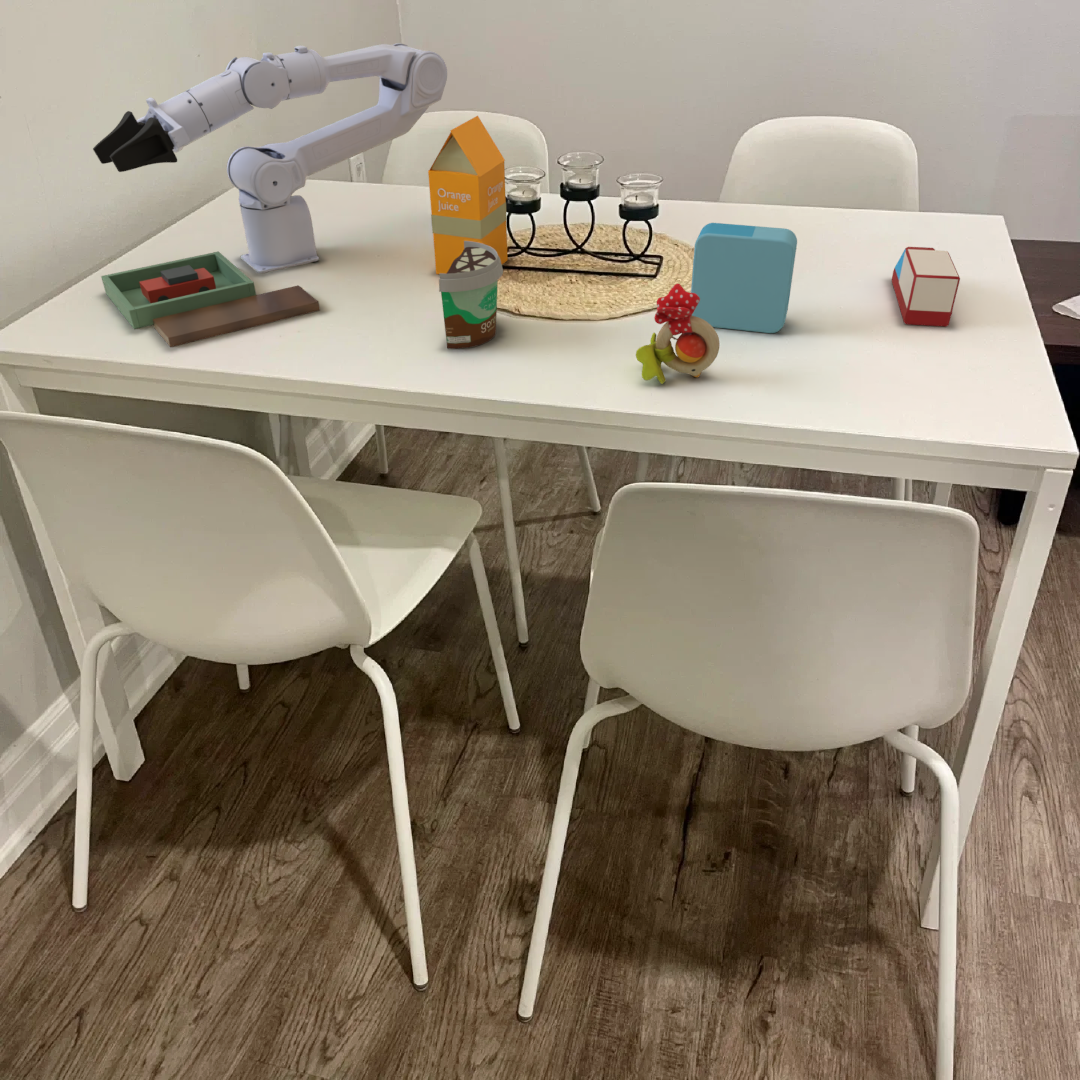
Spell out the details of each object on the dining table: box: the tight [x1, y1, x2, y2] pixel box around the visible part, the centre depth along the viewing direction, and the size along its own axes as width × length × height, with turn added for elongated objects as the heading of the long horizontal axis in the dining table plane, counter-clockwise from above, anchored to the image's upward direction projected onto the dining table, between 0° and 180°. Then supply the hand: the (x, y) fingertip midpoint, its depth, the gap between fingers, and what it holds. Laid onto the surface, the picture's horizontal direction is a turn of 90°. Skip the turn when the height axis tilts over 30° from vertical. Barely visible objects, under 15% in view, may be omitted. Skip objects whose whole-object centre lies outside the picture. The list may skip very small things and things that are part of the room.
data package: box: [690, 222, 798, 334], centre depth 125 cm, size 12×4×12 cm, turn 73°
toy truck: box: [891, 246, 961, 328], centre depth 131 cm, size 6×15×7 cm, turn 170°
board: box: [153, 284, 321, 348], centre depth 131 cm, size 20×7×2 cm, turn 123°
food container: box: [438, 241, 504, 350], centre depth 124 cm, size 12×6×10 cm, turn 168°
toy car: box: [139, 265, 216, 303], centre depth 137 cm, size 9×4×3 cm, turn 123°
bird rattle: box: [635, 283, 720, 385], centre depth 114 cm, size 6×11×9 cm
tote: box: [100, 251, 257, 330], centre depth 137 cm, size 17×15×3 cm
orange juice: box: [427, 115, 509, 275], centre depth 140 cm, size 8×9×20 cm
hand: (105, 160), depth 128 cm, fingers open, 7 cm apart
